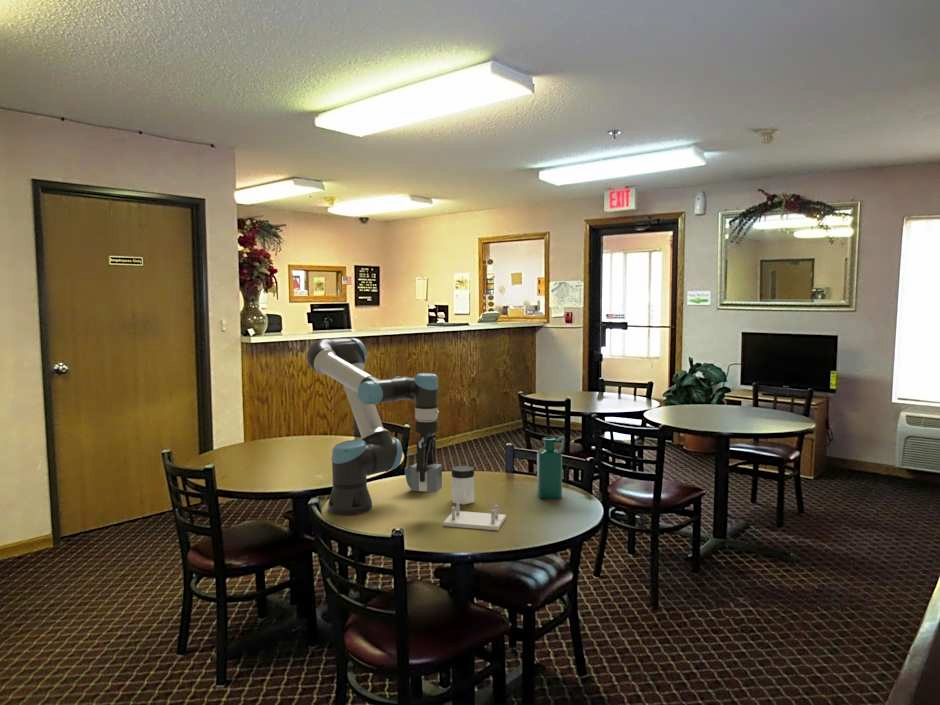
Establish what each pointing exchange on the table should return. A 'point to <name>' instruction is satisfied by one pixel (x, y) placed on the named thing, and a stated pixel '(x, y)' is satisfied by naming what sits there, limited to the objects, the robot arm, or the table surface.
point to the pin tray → (475, 519)
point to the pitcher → (550, 469)
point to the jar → (463, 484)
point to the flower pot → (408, 475)
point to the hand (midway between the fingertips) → (426, 487)
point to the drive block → (428, 478)
